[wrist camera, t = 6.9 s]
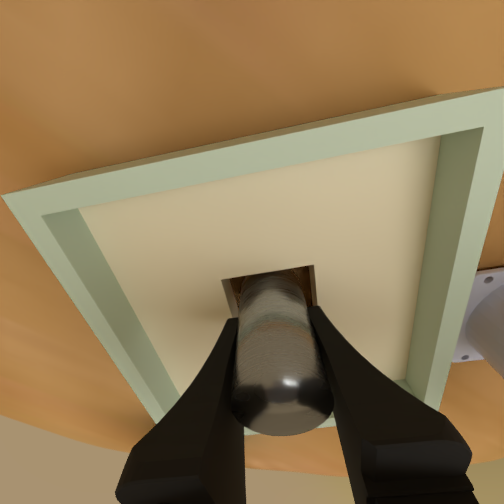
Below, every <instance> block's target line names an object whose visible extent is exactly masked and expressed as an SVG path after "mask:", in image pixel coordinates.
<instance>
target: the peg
mask: <svg viewBox="0 0 504 504" xmlns="http://www.w3.org/2000/svg"><path fill="white" fill-rule="evenodd" d="M333 409H334V396H333V393H332V390H331V386H330V383H329V379H328V376H327V373H326V369H325V366H324V362H323V359H322V356H321V352H320V349H319V345H318V342H317V339H316V335H315V332H314V329H313V326H312V323H311V320H310V317H309V313H308V309H307V305H306V301H305V298H304V294H303V291H302V288H301V284H300V281H299V279H298V277H297V276H296V274H295V273H294V272H293V271H291V270H290V269H284V270H277V271H271V272H265V273H259V274H253V275H247V276H245V278H244V279H243V282H242V285H241V293H240V304H239V315H238V326H237V338H236V349H235V360H234V371H233V382H232V393H231V411H232V413H233V415H234V417H235V418H236V420H237V421H238V422H239V423H240V424H242V425H243V426H244V427H246V428H248V429H250V430H252V431H254V432H257V433H261V434H265V435H271V436H290V435H297V434H301V433H305V432H307V431H310V430H312V429H314V428H316V427H318V426H320V425H321V424H322V423H324V422H325V421H326V420H327V419H328V418H329V416H330V415H331V413H332V411H333Z"/></svg>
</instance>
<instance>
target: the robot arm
mask: <svg viewBox="0 0 504 504" xmlns="http://www.w3.org/2000/svg"><path fill="white" fill-rule="evenodd" d="M307 309H308V313H309V317H310V320H311V323H312V326H313V329H314V332H315V335H316V339H317V342H318V345H319V349H320V352H321V356H322V359H323V362H324V366H325V369H326V373H327V376H328V379H329V383H330V386H331V390H332V393H333V396H334V409H333V414H334V418H335V422H336V426H337V430H338V434H339V438H340V442H341V446H342V450H343V455H344V459H345V463H346V467H347V471H348V475H349V479H350V484H351V488H352V492H353V497H354V501H355V504H479V503H478V501H477V499H476V498H475V496H474V494H473V492H472V491H473V490H474V488H473V485H472V484H471V482H470V480H469V479H468V477H467V476H466V474H465V473H466V471H467V468H468V466H469V464H470V462H471V458H472V452H471V450H470V448H469V446H468V445H467V443H466V441H465V440H464V438H463V437H462V436H461V434H460V433H459V432H458V431H457V429H456V428H455V427H454V426H453V424H452V423H451V422H450V421H449V420H448V418H447V417H446V416H445V415H443V414H441V413H440V412H438V411H436V410H435V409H433V408H432V407H430V406H428V405H427V404H425V403H424V402H422V401H421V400H419V399H417V398H416V397H415V396H413V395H412V394H410V393H409V392H407V391H406V390H404V389H403V388H402V387H400V386H399V385H398V384H396V383H395V382H394V381H392V380H391V379H390V378H388V377H387V376H386V375H384V374H383V373H382V372H381V371H379V370H378V369H377V368H376V367H375V366H373V365H372V364H371V363H370V362H369V361H368V360H367V359H365V358H364V357H363V356H362V355H361V354H360V353H359V352H358V351H357V350H356V349H355V348H354V347H353V346H352V345H351V344H350V343H349V342H348V341H347V340H346V339H345V338H344V337H343V335H342V334H341V333H340V332H339V331H338V330H337V329H336V327H335V326H334V325H333V324H332V322H331V321H330V320H329V319H328V317H327V316H326V315H325V313H324V312H323V310H322V309H321V307H320V306H311V307H307ZM237 326H238V317H236V318H229V319H227V321H226V323H225V325H224V327H223V330H222V332H221V334H220V336H219V338H218V340H217V342H216V344H215V346H214V347H213V349H212V351H211V353H210V355H209V356H208V358H207V360H206V361H205V363H204V365H203V366H202V368H201V370H200V371H199V373H198V374H197V376H196V377H195V379H194V380H193V381H192V383H191V384H190V386H189V387H188V388H187V390H186V391H185V392H184V393H183V395H182V396H181V397H180V398H179V400H178V401H177V402H176V403H175V405H174V406H173V407H172V408H171V409H170V410H169V411H168V412H167V413H166V415H165V416H164V417H163V418H162V419H161V420H160V421H159V422H158V423H157V424H156V425H155V426H154V427H153V428H152V429H151V430H150V431H149V432H148V433H147V434H146V435H145V436H144V437H143V438H142V439H141V440H140V441H139V442H138V443H137V444H136V445H135V446H133V448H132V450H131V452H130V454H129V457H128V459H127V461H126V464H125V466H124V469H123V472H122V474H121V477H120V480H119V483H118V486H117V488H116V491H115V495H116V498H117V500H118V501H119V502H120V503H121V504H246V488H245V456H244V426H243V425H242V424H240V423H239V422H238V421H237V420H236V418H235V417H234V415H233V413H232V411H231V393H232V382H233V371H234V360H235V349H236V338H237ZM482 359H485V360H486V361H487V362H488V363H489V364H490V365H491V366H492V367H493V368H494V369H495V370H496V371H497V372H498V373H499V374H500V375H501V376H502V377H503V379H504V267H503V268H496V269H490V270H483V271H477V272H476V274H475V278H474V282H473V285H472V289H471V293H470V296H469V300H468V304H467V307H466V311H465V315H464V318H463V322H462V326H461V329H460V333H459V337H458V340H457V344H456V348H455V352H454V355H453V359H452V362H465V361H473V360H482Z"/></svg>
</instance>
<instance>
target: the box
mask: <svg viewBox="0 0 504 504" xmlns="http://www.w3.org/2000/svg"><path fill="white" fill-rule="evenodd" d="M503 171H504V86H501V87H493V88H486V89H478V90H470V91H463V92H455V93H447V94H440V95H435V96H431V97H426V98H421V99H417V100H412V101H407V102H403V103H398V104H393V105H389V106H384V107H380V108H375V109H370V110H366V111H361V112H356V113H352V114H347V115H342V116H338V117H333V118H329V119H324V120H319V121H315V122H310V123H305V124H301V125H296V126H292V127H287V128H282V129H278V130H273V131H268V132H264V133H259V134H254V135H250V136H245V137H241V138H236V139H231V140H227V141H222V142H217V143H213V144H208V145H203V146H199V147H194V148H190V149H185V150H180V151H176V152H171V153H166V154H162V155H157V156H152V157H148V158H143V159H139V160H134V161H129V162H125V163H120V164H115V165H111V166H106V167H102V168H97V169H92V170H88V171H83V172H78V173H74V174H69V175H66V176H63V177H60V178H56V179H53V180H50V181H46V182H43V183H40V184H36V185H33V186H30V187H27V188H23V189H20V190H17V191H13V192H10V193H7V194H4V195H1V197H2V198H3V200H4V201H5V203H6V204H7V205H8V207H9V208H10V210H11V211H12V213H13V214H14V216H15V217H16V219H17V220H18V222H19V223H20V225H21V226H22V228H23V229H24V230H25V232H26V233H27V235H28V236H29V238H30V239H31V241H32V242H33V244H34V245H35V247H36V248H37V250H38V251H39V253H40V254H41V255H42V257H43V258H44V260H45V261H46V263H47V264H48V266H49V267H50V269H51V270H52V272H53V273H54V275H55V276H56V278H57V279H58V281H59V282H60V283H61V285H62V286H63V288H64V289H65V291H66V292H67V294H68V295H69V297H70V298H71V300H72V301H73V303H74V304H75V306H76V307H77V308H78V310H79V311H80V313H81V314H82V316H83V317H84V319H85V320H86V322H87V323H88V325H89V326H90V328H91V329H92V331H93V332H94V333H95V335H96V336H97V338H98V339H99V341H100V342H101V344H102V345H103V347H104V348H105V350H106V351H107V353H108V354H109V356H110V357H111V358H112V360H113V361H114V363H115V364H116V366H117V367H118V369H119V370H120V372H121V373H122V375H123V376H124V378H125V379H126V381H127V382H128V384H129V385H130V386H131V388H132V389H133V391H134V392H135V394H136V395H137V397H138V398H139V400H140V401H141V403H142V404H143V406H144V407H145V409H146V410H147V411H148V413H149V414H150V416H151V417H152V419H153V420H154V422H155V423H156V424H157V423H158V422H159V421H160V420H161V419H162V418H163V417H164V416H165V415H166V413H167V412H168V411H169V410H170V409H171V408H172V407H173V406H174V405H175V403H176V402H177V401H178V400H179V398H180V397H181V396H182V395H183V393H184V392H185V391H186V390H187V388H188V387H189V386H190V384H191V383H192V381H193V380H194V379H195V377H196V376H197V374H198V373H199V371H200V370H201V368H202V366H203V365H204V363H205V361H206V360H207V358H208V356H209V355H210V353H211V351H212V349H213V347H214V346H215V344H216V342H217V340H218V338H219V336H220V334H221V332H222V330H223V327H224V325H225V323H226V321H227V319H229V318H236V317H238V315H239V310H238V307H237V303H236V300H235V296H234V293H233V289H232V286H231V282H230V279H229V278H234V277H241V276H247V275H253V274H259V273H265V272H271V271H277V270H284V269H290V268H296V267H302V266H308V265H309V274H310V284H311V294H312V303H313V306H320V307H321V309H322V310H323V312H324V313H325V315H326V316H327V317H328V319H329V320H330V321H331V322H332V324H333V325H334V326H335V327H336V329H337V330H338V331H339V332H340V333H341V334H342V335H343V337H344V338H345V339H346V340H347V341H348V342H349V343H350V344H351V345H352V346H353V347H354V348H355V349H356V350H357V351H358V352H359V353H360V354H361V355H362V356H363V357H364V358H365V359H367V360H368V361H369V362H370V363H371V364H372V365H373V366H375V367H376V368H377V369H378V370H379V371H381V372H382V373H383V374H384V375H386V376H387V377H388V378H390V379H391V380H392V381H394V382H395V383H396V384H398V385H399V386H400V387H402V388H403V389H404V390H406V391H407V392H409V393H410V394H412V395H413V396H415V397H416V398H417V399H419V400H421V401H422V402H424V403H425V404H427V405H428V406H430V407H432V408H433V409H435V410H436V411H438V410H439V407H440V403H441V399H442V396H443V392H444V388H445V385H446V381H447V377H448V374H449V370H450V366H451V363H452V359H453V355H454V352H455V348H456V344H457V340H458V337H459V333H460V329H461V326H462V322H463V318H464V315H465V311H466V307H467V304H468V300H469V296H470V293H471V289H472V285H473V282H474V278H475V274H476V271H477V267H478V263H479V259H480V256H481V252H482V248H483V245H484V241H485V237H486V234H487V230H488V226H489V223H490V219H491V215H492V212H493V208H494V204H495V201H496V197H497V193H498V190H499V186H500V182H501V178H502V175H503ZM332 426H336V422H335V418H334V414H333V411H332V413H331V415H330V416H329V418H328V419H327V420H326V421H325V422H324V423H322V424H321V425H320V426H318V427H316V428H322V427H332ZM253 434H261V433H257V432H254V431H252V430H250V429H248V428H246V427H244V435H253Z"/></svg>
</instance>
